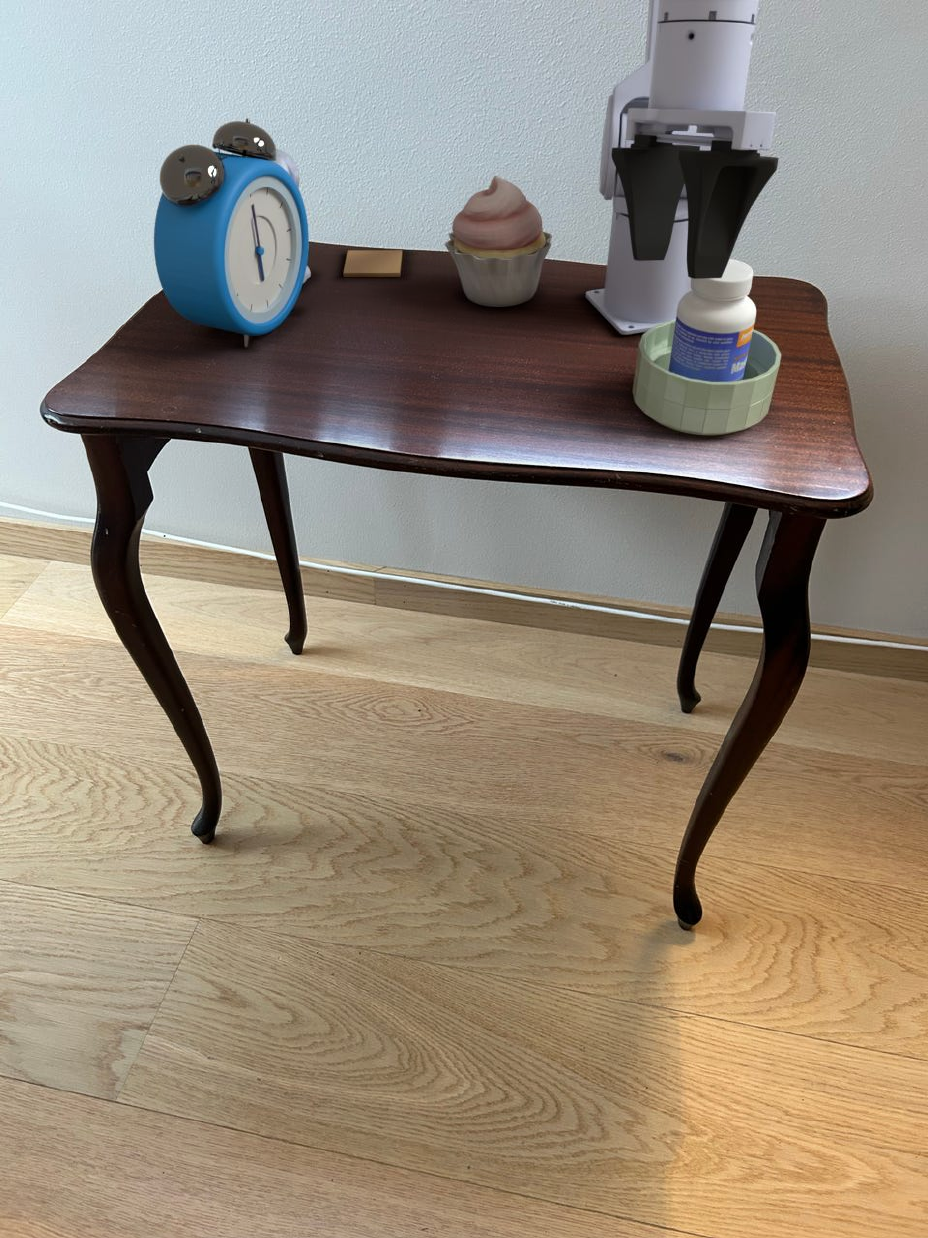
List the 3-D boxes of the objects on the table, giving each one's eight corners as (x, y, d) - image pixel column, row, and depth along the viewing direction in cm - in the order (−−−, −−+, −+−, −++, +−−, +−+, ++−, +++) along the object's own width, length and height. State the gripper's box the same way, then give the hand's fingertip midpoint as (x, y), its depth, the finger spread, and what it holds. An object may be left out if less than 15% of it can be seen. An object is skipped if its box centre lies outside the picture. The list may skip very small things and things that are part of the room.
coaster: (402, 253, 92) (402, 249, 91) (400, 276, 88) (400, 272, 88) (348, 254, 92) (347, 250, 91) (343, 277, 88) (343, 272, 87)
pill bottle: (737, 420, 68) (767, 289, 62) (661, 412, 69) (682, 282, 63) (737, 383, 72) (765, 256, 66) (665, 376, 73) (685, 249, 67)
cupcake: (441, 278, 88) (435, 162, 81) (540, 269, 89) (543, 154, 82) (453, 320, 81) (448, 197, 74) (561, 311, 82) (566, 188, 75)
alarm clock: (235, 367, 76) (197, 168, 65) (171, 351, 77) (124, 156, 67) (319, 298, 84) (298, 113, 74) (259, 286, 86) (230, 103, 76)
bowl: (724, 363, 76) (735, 309, 73) (793, 427, 69) (808, 371, 66) (610, 383, 74) (617, 328, 70) (669, 451, 67) (679, 393, 64)
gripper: (592, 29, 61) (575, 253, 68) (708, 12, 49) (674, 288, 56) (690, 34, 63) (664, 252, 70) (825, 19, 51) (779, 285, 58)
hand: (675, 268), depth 63 cm, fingers open, 7 cm apart
